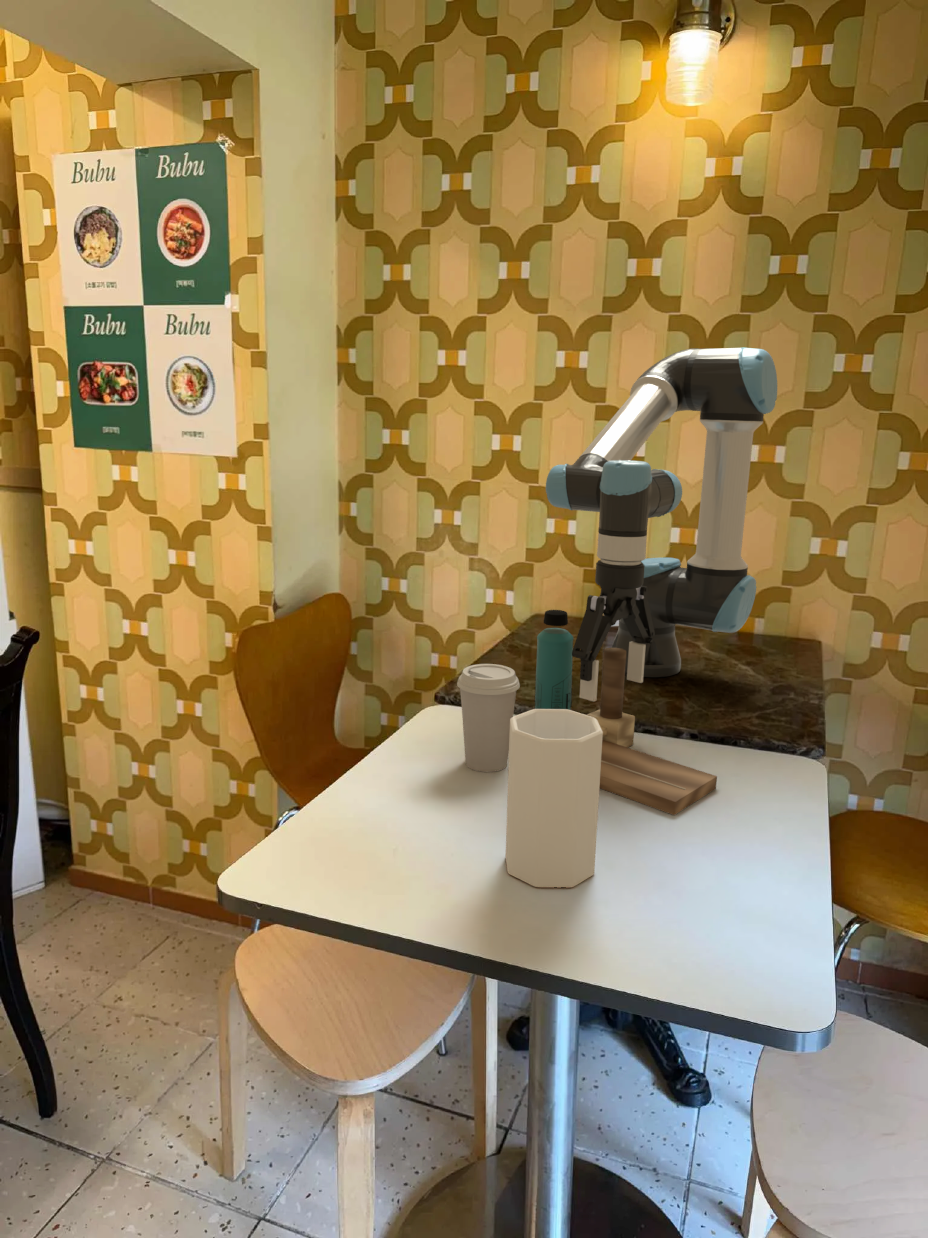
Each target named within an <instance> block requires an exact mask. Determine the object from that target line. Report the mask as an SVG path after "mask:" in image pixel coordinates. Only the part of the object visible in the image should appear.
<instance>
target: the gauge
mask: <svg viewBox="0 0 928 1238" xmlns="http://www.w3.org/2000/svg"><path fill="white" fill-rule="evenodd" d="M625 664H626V650H624V649H620V648H611V647H606V648H604V649H603V655H602V672H601V675H602V676H601V688H600V689H601V691H600V707H599V709H597V710H594V711H592V712H590V713H587V714H586V715H588V716H591V717H594V718H595V719H597V721H598V723H599V725H600V727H601V729H602V732H603V736H602V740H605V741H608V742H612V743H615V744H618V745H621V746H624V747H627V748H630V747H631V746H633V745H634V738H635V737H634V736H635V735H634V734H635V721H636V716H635V715H633V714H632V715H631V714H629V713H625V712H623V708H624V694H625V693H624V692H625V677H626V674H625Z"/></svg>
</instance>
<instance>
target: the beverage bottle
mask: <svg viewBox="0 0 928 1238" xmlns="http://www.w3.org/2000/svg"><path fill="white" fill-rule="evenodd" d="M568 618H569V617H568V612H567V611H565V610H563V609H562V610H561V609H548V610H546V611H545V612H544V615H543V624H544V625H546V626H552V627H547V628H544V629H543V630H542V631H540V633H538V634H537V635H536V639H537V642H536V643H537V645H536V667H535V674H534V675H535V682H534V683H535V687H534V689H535V693H534V708H533V709H568V710H572V703H573V701H572V698H573V697H572V695H573V691H572V690H573V688H572V687H573V684H574V683H573V680H574V679H573V678H574V676H573V669H574V668H573V660H574V658H573V656H572V651H573V648H574V636H573V634H571V632H569V630H567V629H565V628H560V627H562V626H563V627H564V626H567V625H569V619H568Z"/></svg>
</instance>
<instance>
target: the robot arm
mask: <svg viewBox="0 0 928 1238" xmlns="http://www.w3.org/2000/svg"><path fill="white" fill-rule="evenodd" d="M777 376H778V375H777V369H776V365H775V362H774V360H773V357H772V356H771V354H770V353H769V352H768V351H767V350H765V349H762V348H752V347H728V348H726V347H723V348H687V349H683V350H680V351H679V350H678V351H677V352H674V353H672V354H670V355H667V356H666V357H664V358H662V359H660V360H658V361H657V362H656V363H654V364H653V365H651V366H650V367H649V368H647V369H646V370H645V371H644V372H643V373H642V374H641V375H639V376H638V378H637V379H636V380H635V381H634V383H633V384H632V386H631V389H630V392H629V396H628V398H627V400H626V401H625V402H624V403H623V404H622V406H621V407H620V408H619V409H618V410H617V411H616V413H615V414H614V415H613V416H612V417H611V418H610V420H609V421H608V422H607V424H605V426H604V427H603V428H602V430H600V431H599V433H598V434H597V435H596V436H595V438H594V439H593V440H592V441H591V442H590V444H589V445H587V447H586V449H585V450H584V451H583V452H582V454H581V455H580V456H578V458H577V459H576V460H575V461H574V463H573V464H569V463H565V464H557V465H554V466H553V467H552V468H551V469H550V470H549V472H548V474H547V477H546V480H545V493H546V497H547V500H548V502H549V503H550V505H551V506H553V507H556V508H560V509H567V510H569V511H582V512H583V511H585V512H593V513H594V512H595V513H599V516H598V517H599V518H598V519H599V520H598V529H597V530H598V531H597V532H598V533H597V534H598V535H597V548H596V549H597V550H596V551H597V552H596V556H597V558H598V559H599V560H598V561H597V562H596V563H595V564H596V565H595V575H594V576H595V578H594V581H595V583H596V585H597V586H599V587H600V594H599V596H597V595H591V594H589V595H588V596H587V600H586V607H585V608H586V609H585V610H584V611H585V612H584V614H583V617H582V621H581V623H580V627H579V630H578V633H577V636H576V640H575V642H574V644H573V651H572V658H573V657H574V658H577V659H579V660H580V668H579V669H580V671H579V672H580V673H579V679H580V683H579V698H580V699H584V700H585V701H586V700H588V701H589V702H596V701H597V700H598V699H597V697H598V683H599V682H598V679H599V666H600V665H599V663H600V660H598V659H597V656H598V655H599V652H600V651H601V648H602V647H603V644H604V643H605V640H606V639H607V636H608V634H609V632H610V630H611V627H613V626H615V625H616V624H617V621H618V630H617V632H616V635H615V637H614V639H613V643H612V645H611V647H610V648H620V649H624V650H626V664H625V675H626V681H627V680H628V681H632V682H635V683H639V684H642V683H644V678H664V677H670V676H674V675H676V674H678V673H679V672H680V671H681V667H682V657H681V655H680V650H679V646H678V642H677V638H676V625H677V626H683V627H691V628H695V629H702V630H708V631H712V632H713V633H718V632H721V633H729V634H733V633H736V632H738V631H739V630H740V629H742V628H743V626H744V625H745V623H746V622H747V620H748V619H749V617H750V614H751V612H752V610H753V605H754V602H755V599H756V593H757V580H756V578H755V577H753V576H752V575H750V574H748V569H749V564H748V563H747V562H746V561H745V560H744V558H743V557H742V548H743V538H744V531H745V530H744V527H745V519H746V507H747V501H748V499H747V498H748V491H749V490H748V488H749V479H750V470H751V459H752V450H753V442H754V441H753V439H754V432H755V431H756V430H757V429H758V428H759V427H761V425H763V424H764V416H765V415H766V414H769V413H771V412H772V411H773V410H774V409H775V407H776V401H777V399H778V377H777ZM684 411H691V412H693V411H694V412H700V413H699V422H700V423H701V425H702V426H703V427H704V428H705V430H706V437H705V438H706V439H705V446H704V447H705V449H704V459H703V469H702V470H703V471H702V479H701V480H702V481H701V482H702V483H701V484H702V485H701V492H700V504H699V515H698V523H697V524H698V526H697V538H696V546H695V547H696V548H695V549H696V550H695V554H693V555H692V556H691V557H690V558H689V559H688V560H687V562H686V567H682V563H681V560H680V559H679V558H674V557H649V558H648V557H647V556H646V555H647V538H648V537H647V536H648V524H649V523H648V522H649V519H651V518H655V517H657V518H659V517H662V516H665V515H667V514H669V513H671V512H673V511H675V509H676V508H677V507H678V506H679V504H680V503H681V501H682V496H683V487H682V484H681V481H680V479H679V478H678V476H676V475H675V474H674V473H673V472H671V471H669V470H666V469H656V468H655V469H654V468H653V469H652V466H651V465H650V464H649V462H647V461H643V460H632V459H634V457H635V456H636V454H637V453H638V452H639V451H640V450H641V448H642V447H643V445H644V444H645V443H646V442H647V440H649V438H650V436H651V435H652V434H653V432H654V431H655V430H656V429H657V428H658V426H659V425H660V424H661V422H664V421H666V420H668V419H670V418H671V417H673V415H674V414H675V413H677V412H684ZM646 557H647V558H646Z"/></svg>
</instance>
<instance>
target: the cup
mask: <svg viewBox="0 0 928 1238" xmlns="http://www.w3.org/2000/svg"><path fill="white" fill-rule="evenodd" d="M602 736H603V732H602V729H601V727H600V725H599V723H598V721H597V719H595V718H594V717H591V716H588V715H587V714H584V713H582V712H581V713H580V712H577V711H574V710H572V709H571V710H568V709H535V708H532V709H530V710H528V711H524V712H522V713H519V714H516V715H513V717H512V718H511V719H510V737H509V754H508V766H507V767H508V769H507V771H508V773H507V805H506V828H505V829H506V834H505V861H506V870H507V873H508V874H509V875H510V876H513V877H515V878H517V880H518V879H519V880H520V881H522V882H524V883H526V884H529V885H530V886H532V887H535V888H554V887H557V888H561V887H566V888H568V889H569V888H574V887H576V886H577V885H579V884H580V883H582V882H583V881H585V880H587V879H589V878H590V877H592V876H594V874H595V867H596V853H597V851H596V850H597V835H598V820H599V819H598V818H599V801H600V800H599V799H600V788H599V787H600V770H601V753H602Z"/></svg>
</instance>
